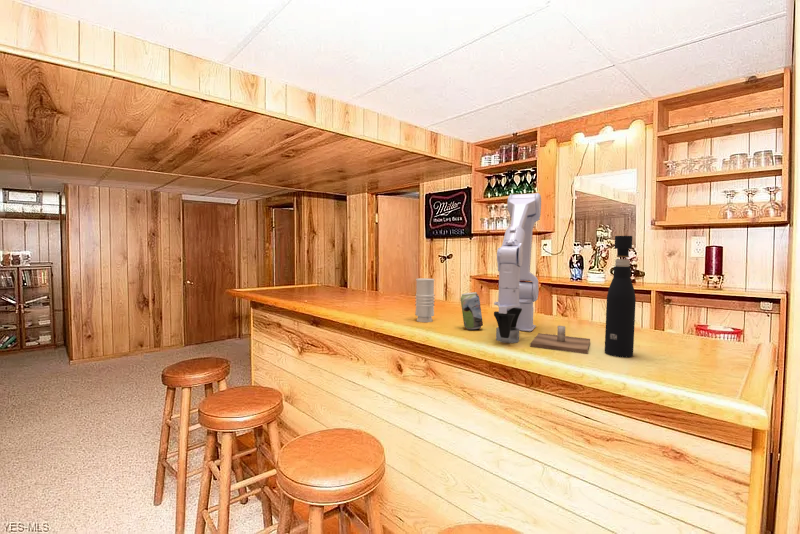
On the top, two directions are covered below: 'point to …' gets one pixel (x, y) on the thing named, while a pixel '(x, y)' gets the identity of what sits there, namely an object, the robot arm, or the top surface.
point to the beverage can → (471, 310)
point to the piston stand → (561, 342)
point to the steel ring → (512, 336)
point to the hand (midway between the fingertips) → (507, 334)
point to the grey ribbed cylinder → (424, 299)
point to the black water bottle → (620, 304)
